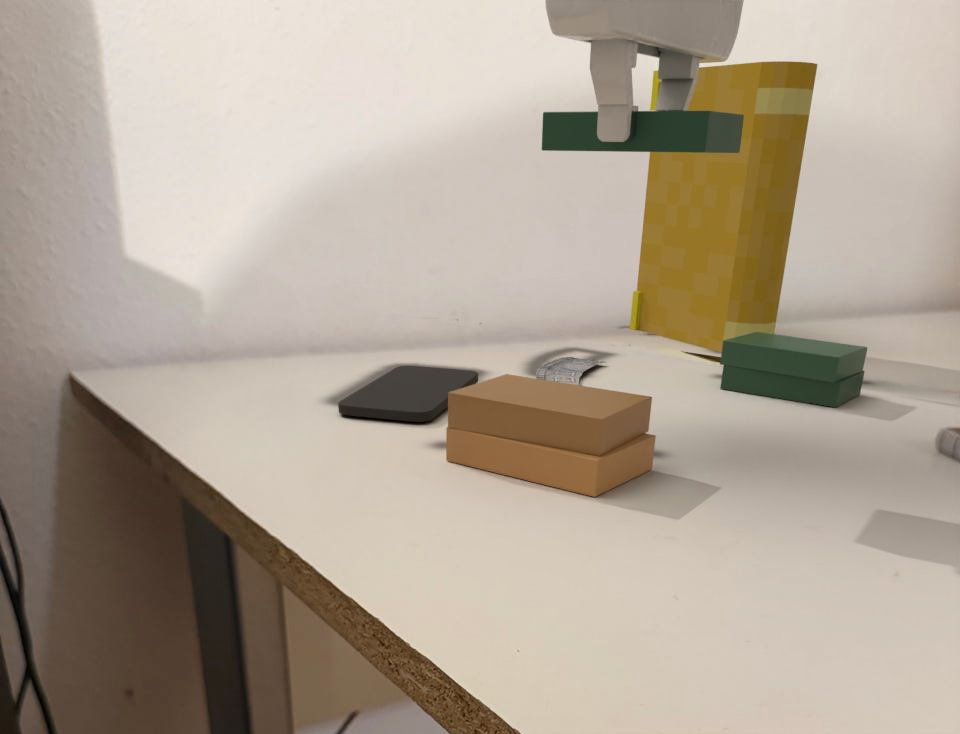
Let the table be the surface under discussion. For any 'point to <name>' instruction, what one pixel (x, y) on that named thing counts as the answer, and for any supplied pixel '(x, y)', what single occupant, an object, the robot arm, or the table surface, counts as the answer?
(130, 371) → the table surface
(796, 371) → the green stack
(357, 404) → the phone
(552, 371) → the coin fragment
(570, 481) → the tan stack
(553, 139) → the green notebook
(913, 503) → the table surface
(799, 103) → the book
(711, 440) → the table surface
